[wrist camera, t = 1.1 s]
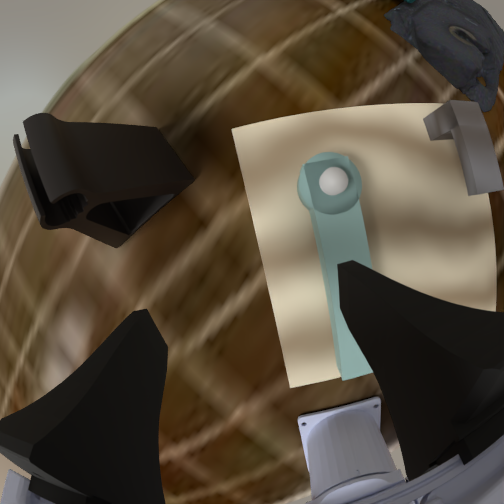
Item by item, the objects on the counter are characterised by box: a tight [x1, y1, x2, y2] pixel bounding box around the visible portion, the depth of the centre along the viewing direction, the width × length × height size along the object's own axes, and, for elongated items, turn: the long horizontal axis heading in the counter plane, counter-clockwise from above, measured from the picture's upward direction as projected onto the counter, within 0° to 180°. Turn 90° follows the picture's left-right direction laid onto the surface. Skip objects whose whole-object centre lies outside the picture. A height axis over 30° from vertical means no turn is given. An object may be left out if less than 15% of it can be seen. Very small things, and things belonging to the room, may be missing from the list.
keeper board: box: [232, 100, 504, 388], centre depth 17 cm, size 21×22×6 cm
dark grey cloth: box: [384, 0, 504, 112], centre depth 14 cm, size 15×22×5 cm
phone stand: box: [13, 113, 195, 248], centre depth 15 cm, size 9×6×12 cm, turn 126°
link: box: [297, 152, 373, 381], centre depth 17 cm, size 16×4×3 cm, turn 13°
